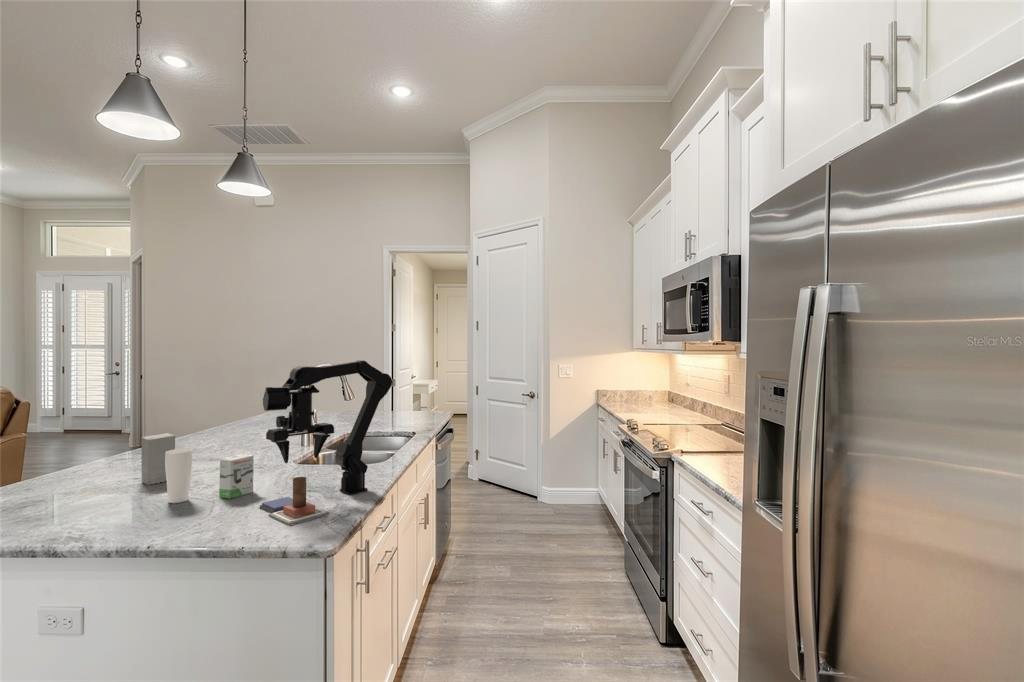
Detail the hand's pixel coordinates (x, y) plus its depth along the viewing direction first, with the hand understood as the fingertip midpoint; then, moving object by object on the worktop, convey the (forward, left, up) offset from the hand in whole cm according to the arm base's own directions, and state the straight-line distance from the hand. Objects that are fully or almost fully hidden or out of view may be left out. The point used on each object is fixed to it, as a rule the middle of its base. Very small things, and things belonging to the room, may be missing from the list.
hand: (301, 460), depth 152 cm
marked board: (+7, +13, -12) cm, 19 cm away
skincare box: (+21, -57, -12) cm, 62 cm away
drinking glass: (+24, -27, -12) cm, 38 cm away
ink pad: (+7, +2, -12) cm, 14 cm away
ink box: (+10, -21, -12) cm, 26 cm away
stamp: (+7, +13, -11) cm, 18 cm away
